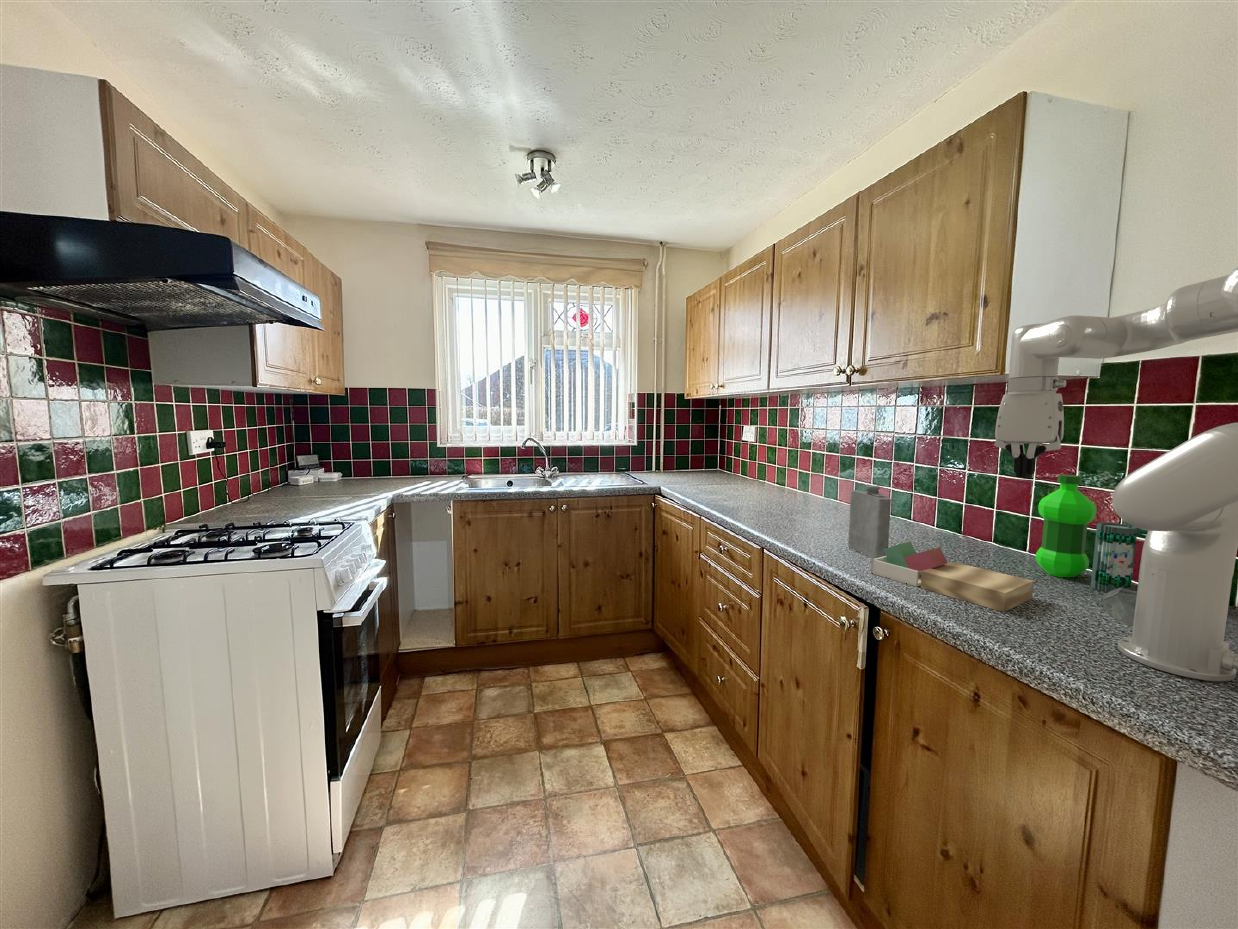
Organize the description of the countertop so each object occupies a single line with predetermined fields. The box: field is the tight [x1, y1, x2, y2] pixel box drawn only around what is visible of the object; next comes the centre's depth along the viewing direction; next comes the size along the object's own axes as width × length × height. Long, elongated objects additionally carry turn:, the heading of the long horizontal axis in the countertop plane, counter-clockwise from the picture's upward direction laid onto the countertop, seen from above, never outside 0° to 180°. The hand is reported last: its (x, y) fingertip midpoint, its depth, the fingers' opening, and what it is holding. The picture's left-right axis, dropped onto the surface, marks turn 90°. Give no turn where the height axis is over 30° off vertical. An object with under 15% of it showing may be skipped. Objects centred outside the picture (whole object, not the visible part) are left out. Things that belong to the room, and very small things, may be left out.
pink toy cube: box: [904, 546, 949, 571], centre depth 117 cm, size 6×6×4 cm
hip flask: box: [847, 484, 892, 560], centre depth 137 cm, size 16×4×20 cm, turn 5°
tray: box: [870, 556, 924, 587], centre depth 120 cm, size 11×14×4 cm
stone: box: [1100, 587, 1137, 626], centre depth 95 cm, size 11×4×10 cm
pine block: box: [920, 561, 1035, 613], centre depth 108 cm, size 16×14×4 cm
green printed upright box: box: [1090, 522, 1139, 594], centre depth 110 cm, size 6×6×15 cm
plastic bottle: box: [1035, 474, 1098, 578], centre depth 120 cm, size 10×10×25 cm
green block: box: [883, 541, 917, 568], centre depth 121 cm, size 6×6×4 cm
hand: (1023, 476), depth 99 cm, fingers closed
